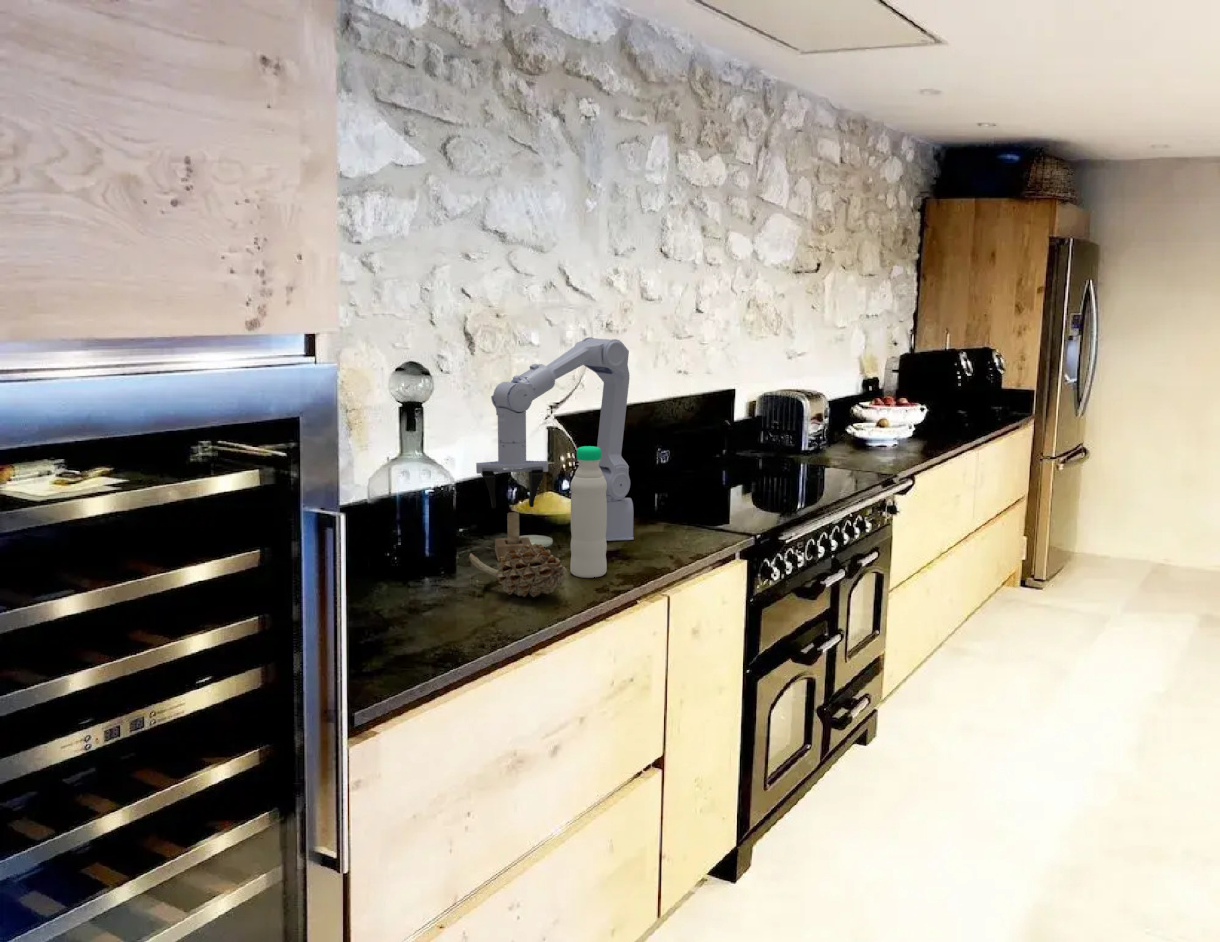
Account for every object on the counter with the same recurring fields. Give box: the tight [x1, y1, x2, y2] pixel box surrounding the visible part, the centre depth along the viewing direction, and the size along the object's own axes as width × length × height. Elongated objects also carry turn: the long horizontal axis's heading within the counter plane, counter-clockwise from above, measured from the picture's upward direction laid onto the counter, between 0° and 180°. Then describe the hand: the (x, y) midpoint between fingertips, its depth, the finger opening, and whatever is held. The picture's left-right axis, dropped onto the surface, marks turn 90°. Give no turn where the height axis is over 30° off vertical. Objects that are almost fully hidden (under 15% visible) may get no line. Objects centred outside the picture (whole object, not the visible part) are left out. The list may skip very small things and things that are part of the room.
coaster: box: [519, 534, 554, 548], centre depth 236 cm, size 9×9×1 cm
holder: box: [494, 537, 532, 562], centre depth 225 cm, size 7×7×3 cm
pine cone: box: [468, 544, 567, 598], centre depth 198 cm, size 22×10×10 cm, turn 61°
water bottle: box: [570, 445, 608, 579], centre depth 210 cm, size 7×7×25 cm
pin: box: [506, 511, 520, 544], centre depth 224 cm, size 2×2×9 cm
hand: (512, 506), depth 223 cm, fingers open, 7 cm apart
